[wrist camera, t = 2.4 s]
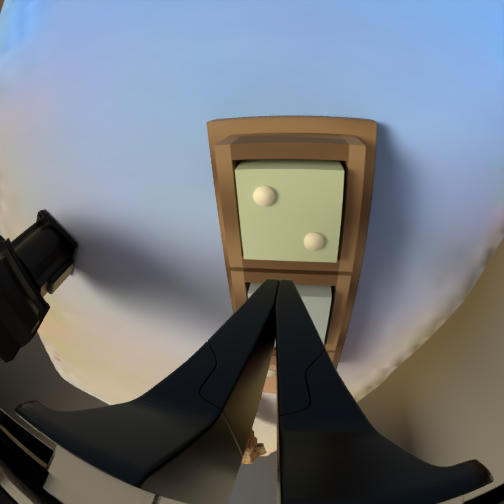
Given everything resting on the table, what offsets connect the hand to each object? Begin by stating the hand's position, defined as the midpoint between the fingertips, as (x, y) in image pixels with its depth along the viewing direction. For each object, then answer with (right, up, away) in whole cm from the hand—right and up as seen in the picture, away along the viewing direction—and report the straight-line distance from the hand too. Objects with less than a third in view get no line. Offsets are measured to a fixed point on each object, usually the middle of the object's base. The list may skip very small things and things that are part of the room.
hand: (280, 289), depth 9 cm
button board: (+2, 0, +13) cm, 13 cm away
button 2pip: (+1, +4, +6) cm, 7 cm away
